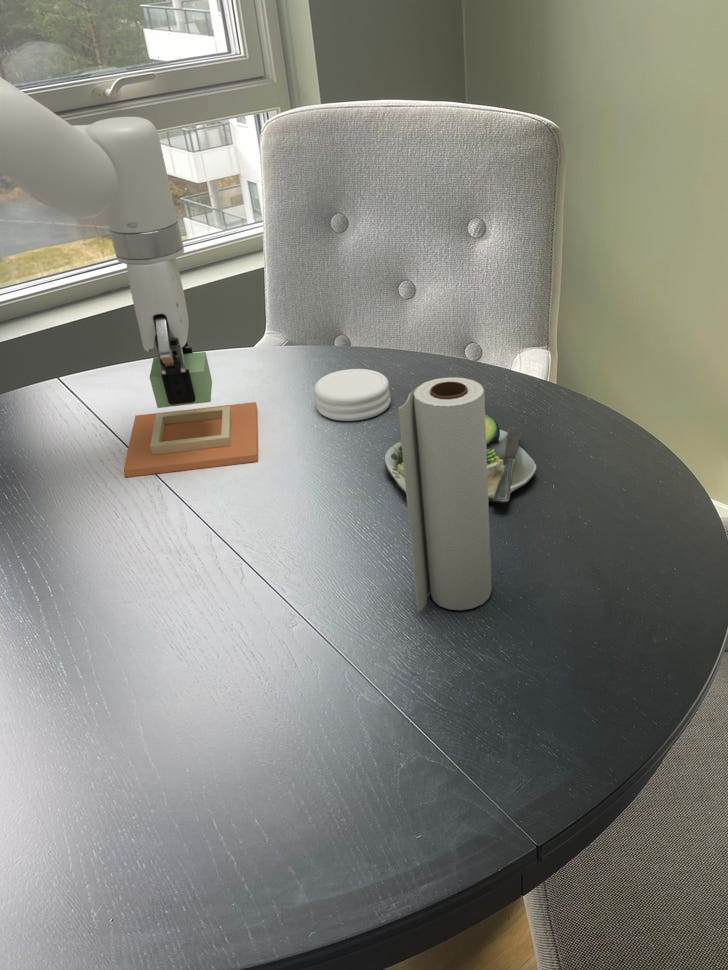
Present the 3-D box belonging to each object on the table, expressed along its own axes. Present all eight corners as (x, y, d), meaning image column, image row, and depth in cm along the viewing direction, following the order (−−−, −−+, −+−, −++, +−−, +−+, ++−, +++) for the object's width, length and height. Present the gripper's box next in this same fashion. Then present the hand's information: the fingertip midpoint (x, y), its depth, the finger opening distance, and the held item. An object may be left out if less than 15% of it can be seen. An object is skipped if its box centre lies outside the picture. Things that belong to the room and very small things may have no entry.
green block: (157, 408, 118) (149, 377, 116) (161, 387, 123) (153, 357, 121) (210, 402, 119) (203, 371, 117) (212, 381, 124) (205, 351, 121)
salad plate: (571, 500, 109) (572, 464, 106) (419, 533, 105) (416, 496, 102) (509, 431, 124) (509, 397, 121) (374, 457, 119) (370, 422, 116)
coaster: (311, 398, 134) (307, 374, 132) (381, 386, 136) (378, 362, 134) (324, 427, 126) (321, 402, 124) (398, 415, 129) (396, 390, 127)
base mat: (125, 477, 118) (120, 461, 116) (137, 422, 130) (132, 406, 129) (258, 461, 120) (254, 445, 118) (257, 408, 132) (254, 393, 131)
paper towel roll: (490, 575, 98) (483, 373, 85) (492, 611, 93) (485, 401, 80) (419, 578, 98) (401, 376, 85) (417, 614, 93) (397, 405, 80)
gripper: (121, 224, 116) (158, 368, 127) (104, 267, 103) (147, 424, 114) (185, 218, 117) (216, 361, 128) (177, 260, 103) (212, 416, 114)
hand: (183, 389), depth 121 cm, fingers closed on green block, 6 cm apart
